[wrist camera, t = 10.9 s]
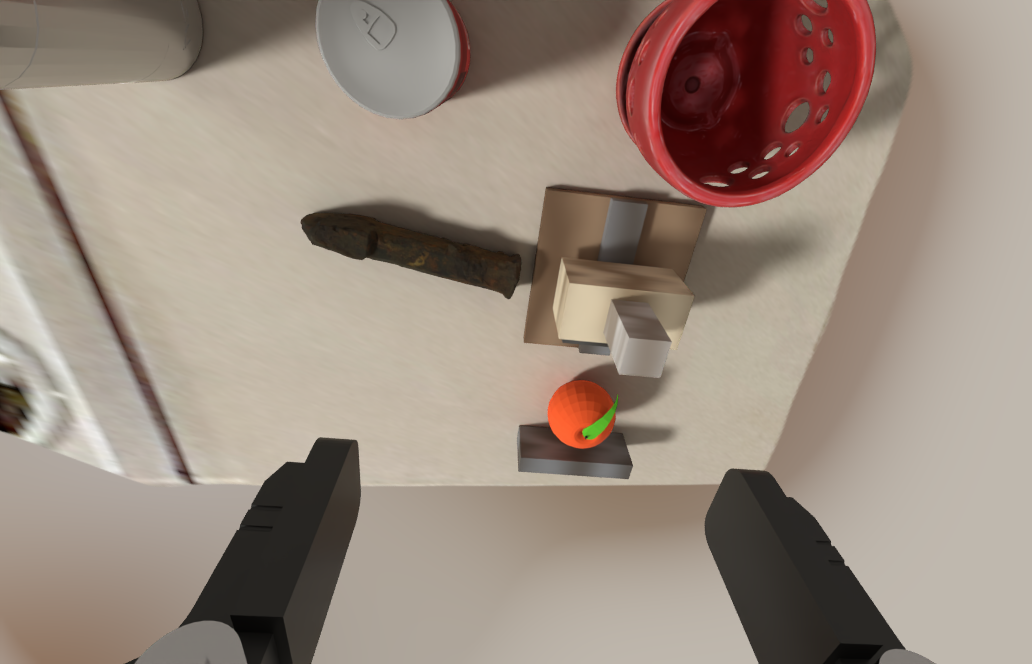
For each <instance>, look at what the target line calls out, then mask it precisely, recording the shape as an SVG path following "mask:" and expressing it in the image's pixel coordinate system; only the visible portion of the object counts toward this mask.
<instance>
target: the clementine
mask: <svg viewBox="0 0 1032 664" xmlns="http://www.w3.org/2000/svg"><path fill="white" fill-rule="evenodd" d="M617 404H618V395H617V398H616V401H615V403H613V401H612V399H611V397H610V395H609V394H608V393H607V392H606V390H605V389H603V388H602V387H600V386H599V385H597V384H596V383H594V382H591V381H586V380H577V381H572V382H569V383H566V384H564V385H563V386H561V387H560V388H559V389H558V390H557V391H556V392H555V393H554V395H553V397H552V398H551V400H550V402H549V406H548V421H549V424H550V427H551V429H552V431H553V433H554V434H555V435H556V436H557V437H558V438H559V439H560V441H561V442H563V443H565V444H566V445H569V446H572V447H575V448H581V449H584V448H591V447H594V446H596V445H598V444H600V443H601V442H603V441H604V440H605V439H606V438H607V437H608V436H609V434H610V433H611V431H612V429H613V426H614V423H615V419H616V416H615V411H616V408H617Z"/></svg>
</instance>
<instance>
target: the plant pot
mask: <svg viewBox="0 0 1032 664" xmlns="http://www.w3.org/2000/svg"><path fill="white" fill-rule="evenodd" d="M827 3H828V7H827V8H824V7H822V6H820V5H818V4H817V3H816V2H815V1H814V0H665V1H664V2H663V3H661V4H660V5H659V6H657V7H656V8H655V9H654V10H653V11H652V12H651V13H650V14H649V15H648V16H647V17H646V18H645V19H644V20H643V21H642V23H641V24H640V25H639V27H638V28H637V29H636V31H635V32H634V34H633V36H632V37H631V39H630V41H629V43H628V45H627V47H626V49H625V51H624V54H623V56H622V59H621V62H620V66H619V70H618V75H617V83H616V99H617V106H618V111H619V115H620V118H621V121H622V124H623V126H624V128H625V130H626V132H627V134H628V135H629V137H630V138H631V139H632V141H633V142H634V143H635V144H636V145H637V147H638V148H639V150H640V152H641V153H642V155H643V157H644V158H645V160H646V161H647V162H648V163H649V165H650V166H651V167H652V168H653V169H654V170H655V171H656V172H657V173H658V174H659V175H660V176H661V177H662V178H663V179H664V180H665V181H667V182H668V183H669V184H670V185H671V186H673V187H674V188H675V189H677V190H678V191H680V192H681V193H682V194H684V195H686V196H687V197H689V198H691V199H693V200H695V201H698V202H700V203H703V204H707V205H711V206H717V207H743V206H749V205H754V204H758V203H761V202H764V201H767V200H770V199H773V198H775V197H778V196H780V195H781V194H783V193H785V192H787V191H789V190H791V189H792V188H794V187H795V186H797V185H798V184H800V183H801V182H802V181H804V180H805V179H806V178H808V177H809V176H810V175H812V174H813V173H814V172H815V171H816V170H817V169H819V168H820V167H821V166H822V165H823V164H824V163H825V162H826V161H827V160H828V159H829V158H830V157H831V155H832V154H833V153H834V152H835V151H836V149H837V148H838V147H839V146H840V144H841V143H842V141H843V140H844V139H845V137H846V136H847V134H848V133H849V131H850V130H851V128H852V127H853V125H854V123H855V121H856V119H857V117H858V115H859V113H860V111H861V109H862V107H863V104H864V102H865V100H866V97H867V95H868V92H869V88H870V85H871V82H872V77H873V73H874V65H875V55H876V35H875V26H874V21H873V16H872V13H871V10H870V7H869V4H868V2H867V0H827ZM802 15H806V16H807V17H808V18H809V19H810V21H811V23H812V31H808V30H807V29H806V28H805V27H804V25H803V23H802V19H801V16H802ZM829 29H830V30H831V31H832V34H833V43H832V42H831V41H830V39H829V36H828V30H829ZM808 48H810V49H811V50H812V51H813V61H812V62H811V63H809V61H808V60H807V57H806V54H807V50H808ZM827 71H828V72H829V73H830V75H831V83H830V85H829V87H828V89H827V91H826V93H825V91H824V89H823V82H824V77H825V75H826V73H827ZM804 102H808V103H809V106H810V110H809V114H808V117H807V118H806V120H805V122H804V123H803V124H802V125H801V127H800V128H799V129H797V130H795V131H793V132H791V133H786V132H785V125H786V122H787V120H788V118H789V116H790V114H791V113H792V112H793V111H794V109H795V108H796V107H798V106H799V105H800V104H802V103H804ZM827 109H829V111H828V114H827V116H826V118H825V119H824V120H823V121H822V122H821V118H822V115H823V114H824V112H825V111H826V110H827ZM777 147H781V149H780V150H779V151H778V152H777V153H776V154H775V155H774V156H773V157H771V158H769V159H767V160H766V159H764V158H765V156H766V155H767V154H768V153H769V152H770V151H772V150H773V149H775V148H777ZM798 147H799V149H798V150H797V151H796V152H795V153H794V154H792V155H791V156H789V155H790V154H791V153H792V152H793V151H794V150H795V149H796V148H798ZM743 167H746V168H747V169H746V170H745V171H743V172H740V173H735V174H733V173H731V172H732V171H733V170H735V169H738V168H743ZM762 172H768V173H767V174H766V175H764V176H762V177H760V178H757V179H752V177H754V176H756V175H757V174H760V173H762ZM711 182H712V183H724V184H727V185H729V186H725V187H718V186H712V185H709V184H704V183H711Z"/></svg>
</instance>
